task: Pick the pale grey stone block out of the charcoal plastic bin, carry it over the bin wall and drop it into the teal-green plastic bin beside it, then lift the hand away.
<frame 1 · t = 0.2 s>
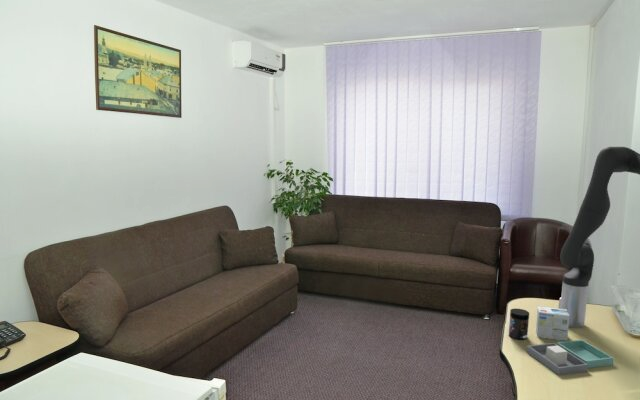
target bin: (583, 358, 164), on the table
supplement container: (517, 338, 180), on the table
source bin: (555, 363, 161), on the table
light bulb box: (550, 337, 181), on the table
stone block: (555, 361, 161), point 1 cm above the table, touching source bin
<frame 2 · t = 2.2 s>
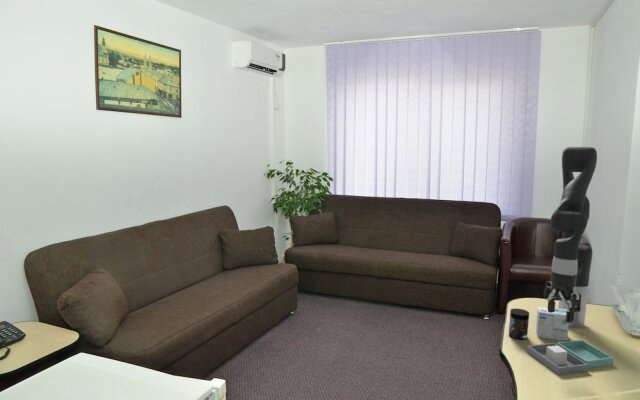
hand: (559, 317, 158), 17 cm above the table, tool pointing down, fingers open, 8 cm apart
nothing on the table moved.
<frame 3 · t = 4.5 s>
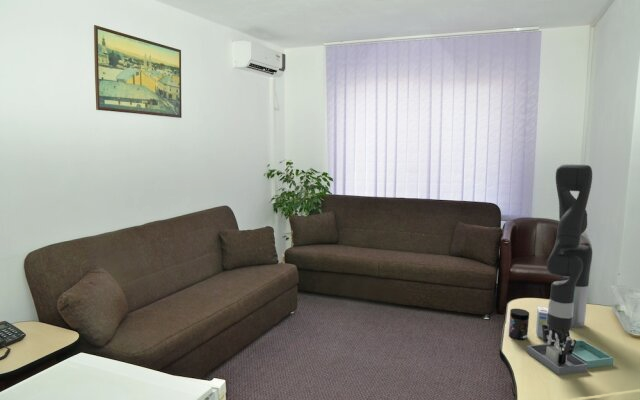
hand: (556, 359, 161), 1 cm above the table, tool pointing down, fingers closed on stone block, 4 cm apart
stone block: (555, 361, 161), point 1 cm above the table, touching gripper, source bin
everything else where it was.
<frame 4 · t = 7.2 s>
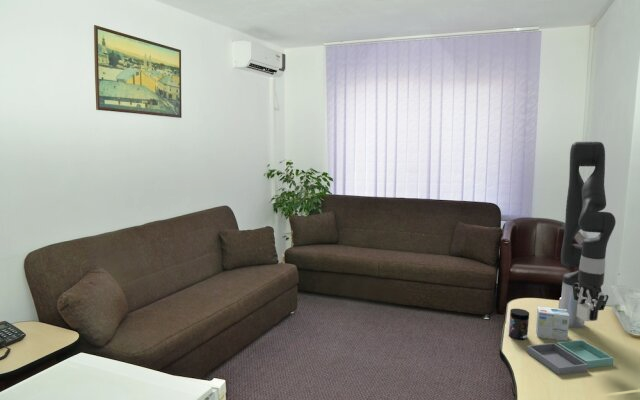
hand: (587, 316, 162), 15 cm above the table, tool pointing down, fingers closed on stone block, 4 cm apart
stone block: (586, 318, 162), point 15 cm above the table, touching gripper
everything else where it was.
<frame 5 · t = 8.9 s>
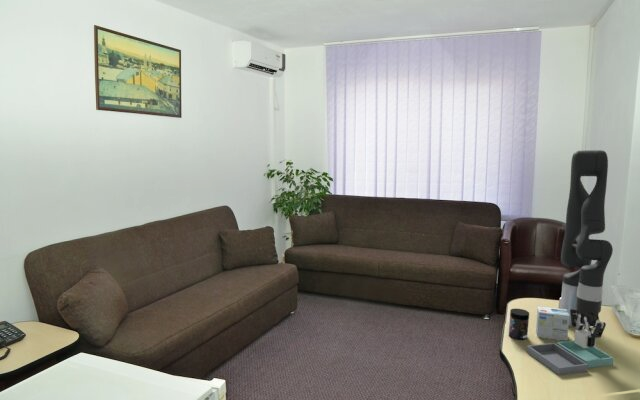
hand: (584, 343, 163), 6 cm above the table, tool pointing down, fingers closed on stone block, 4 cm apart
stone block: (584, 344, 163), point 5 cm above the table, touching gripper
everything else where it was.
when the fingers open (3 cm above the table, at t = 10.2 s): stone block drops 2 cm, resting on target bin.
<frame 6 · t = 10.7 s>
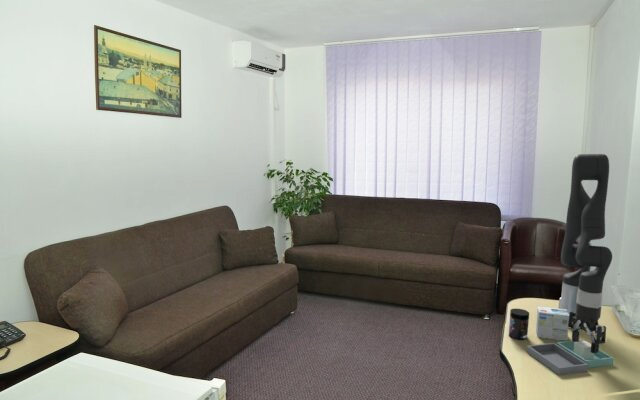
hand: (584, 347, 164), 4 cm above the table, tool pointing down, fingers open, 8 cm apart
stone block: (583, 356, 164), point 1 cm above the table, touching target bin
everything else where it was.
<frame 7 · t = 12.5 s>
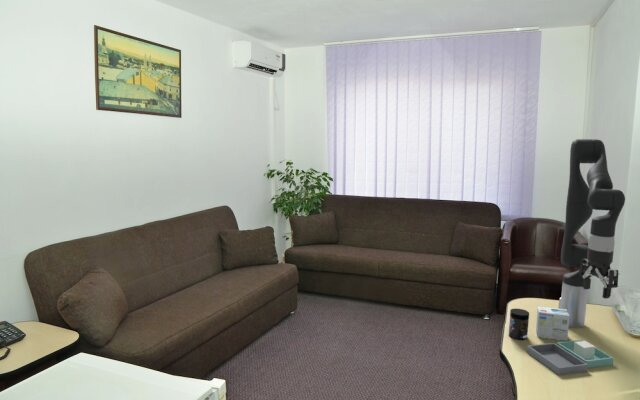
hand: (596, 293, 161), 23 cm above the table, tool pointing down, fingers open, 8 cm apart
nothing on the table moved.
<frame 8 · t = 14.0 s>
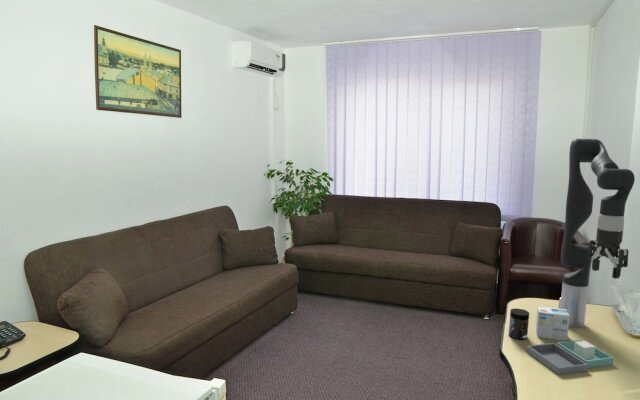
hand: (605, 274, 161), 30 cm above the table, tool pointing down, fingers open, 8 cm apart
nothing on the table moved.
at the end: stone block inside the target area on the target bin (0.1 cm from its centre), point 0.6 cm above the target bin's base; the gripper is holding nothing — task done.
